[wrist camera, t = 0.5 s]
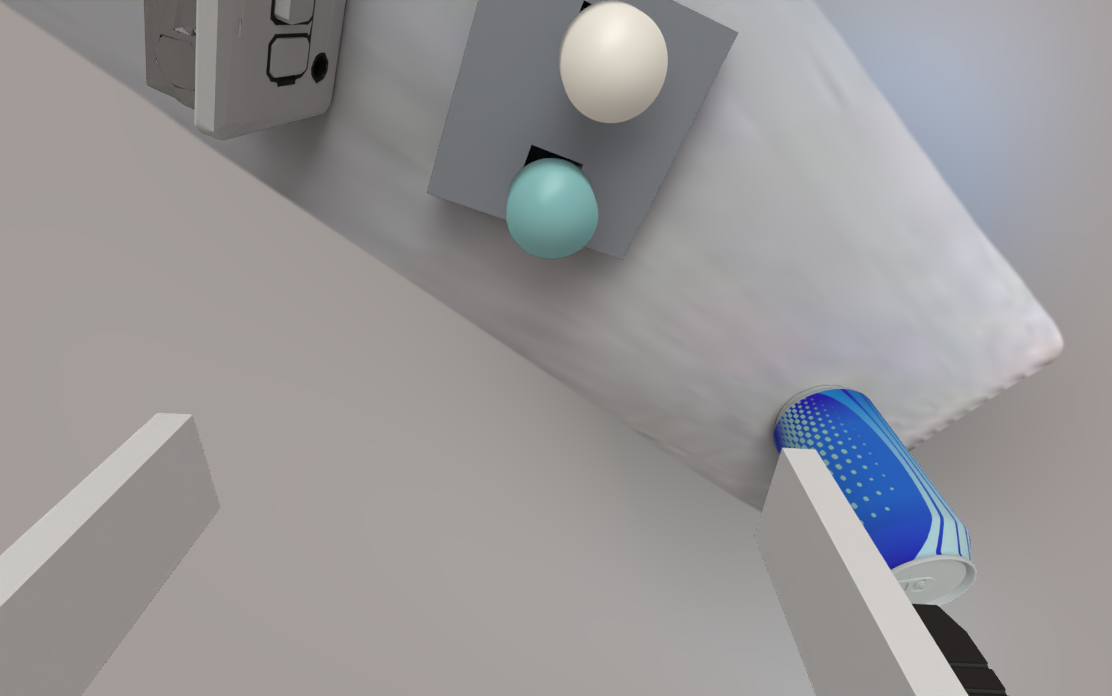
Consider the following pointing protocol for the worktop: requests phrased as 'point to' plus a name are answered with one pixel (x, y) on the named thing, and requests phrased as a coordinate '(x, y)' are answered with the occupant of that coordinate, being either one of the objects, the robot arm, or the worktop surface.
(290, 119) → the electrical switch
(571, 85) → the knob cream
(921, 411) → the worktop surface
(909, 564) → the beer can
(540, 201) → the knob teal
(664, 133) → the mount block
